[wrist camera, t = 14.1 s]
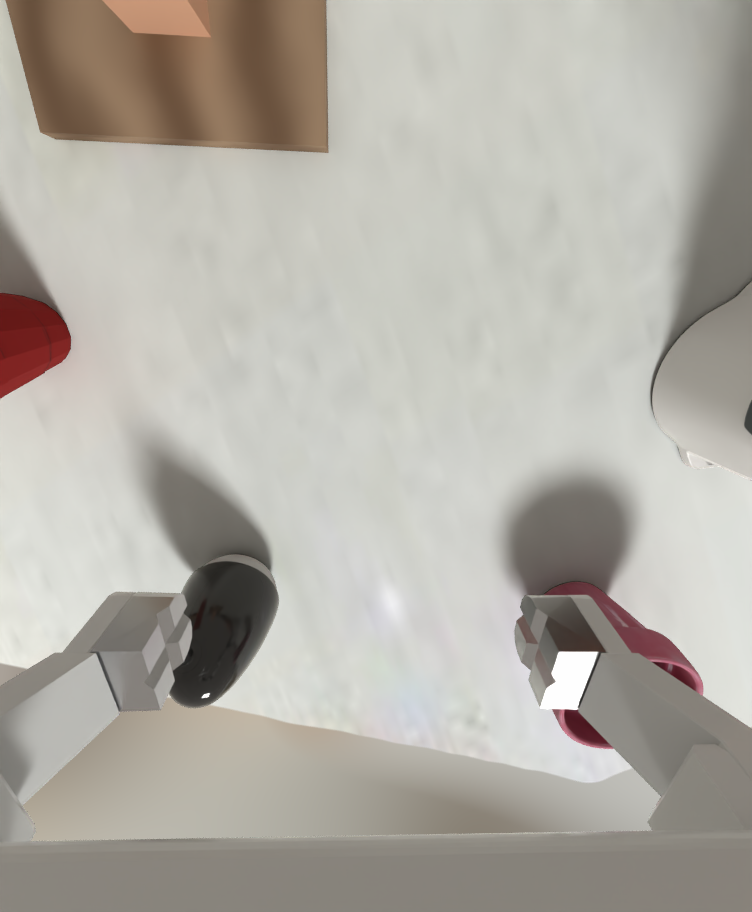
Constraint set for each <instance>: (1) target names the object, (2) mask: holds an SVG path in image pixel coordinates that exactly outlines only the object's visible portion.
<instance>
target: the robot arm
mask: <svg viewBox="0 0 752 912" xmlns="http://www.w3.org/2000/svg"><path fill="white" fill-rule="evenodd" d="M652 406H653V412H654V416H655V419H656V421H657V423H658V425H659V427H660V428H661V430H662V431H663V432H664V433H665V434H666V435H667V436H668V437H669V438H671V439H672V440H673V441H674V442H675V443H676V444H677V446H678V449H679V452H680V456H681V459H682V461H683V462H684V464H686V465H687V466H690V467H692V468H695V469H703V468H709V467H716V466H719V467H721V468H723V469H726V470H728V471H730V472H732V473H735V474H737V475H739V476H741V477H744V478H746V479H748V480H751V481H752V281H751V282H750V283H749V284H748V285H747V286H746V287H745V288H744V289H743V290H742V291H741V292H740V293H739V294H738V295H737V296H736V297H735V298H733V299H732V300H730V301H729V302H727V303H725V304H724V305H722V306H720V307H718V308H716V309H714V310H713V311H711V312H709V313H708V314H706V315H705V316H703V317H702V318H700V319H699V320H698V321H697V322H695V323H694V324H693V325H692V326H691V327H689V328H688V329H687V330H686V331H685V332H684V333H683V334H682V335H681V336H680V338H679V339H678V340H677V341H676V342H675V344H674V345H673V346H672V348H671V349H670V350H669V352H668V353H667V355H666V357H665V358H664V360H663V362H662V364H661V366H660V368H659V371H658V373H657V376H656V379H655V383H654V387H653V394H652ZM186 607H187V603H186V600H185V596H184V595H183V594H180V593H152V592H137V593H136V592H115V593H113V594H111V595H109V596H108V597H107V598H106V600H105V601H104V602H103V603H102V605H101V606H100V607H99V608H98V609H97V611H96V612H95V613H94V614H93V616H92V617H91V618H90V619H89V620H88V622H87V623H86V624H85V625H84V627H83V628H82V629H81V630H80V631H79V633H78V634H77V635H76V636H75V638H74V639H73V640H72V641H71V642H70V644H69V645H68V646H67V647H66V649H65V650H64V651H63V652H62V653H54V654H52V655H50V656H49V657H47V658H45V659H44V660H42V661H40V662H39V663H37V664H35V665H34V666H32V667H30V668H29V669H27V670H26V671H24V672H22V673H21V674H19V675H17V676H16V677H14V678H12V679H11V680H9V681H7V682H6V683H4V684H3V685H1V686H0V912H752V729H751V728H750V727H748V726H747V725H745V724H744V723H742V722H741V721H739V720H738V719H736V718H735V717H733V716H732V715H730V714H729V713H727V712H726V711H724V710H723V709H721V708H720V707H718V706H717V705H715V704H714V703H712V702H711V701H709V700H708V699H706V698H705V697H703V696H702V695H700V694H699V693H697V692H696V691H694V690H693V689H691V688H690V687H688V686H687V685H685V684H684V683H682V682H681V681H679V680H678V679H676V678H675V677H673V676H672V675H670V674H669V673H667V672H666V671H664V670H663V669H661V668H660V667H658V666H657V665H655V664H654V663H652V662H651V661H649V660H648V659H646V658H645V657H643V656H642V655H640V654H639V653H631V651H630V650H629V648H628V647H627V646H626V644H625V643H624V641H623V640H622V639H621V637H620V636H619V635H618V633H617V632H616V630H615V629H614V628H613V626H612V625H611V623H610V622H609V621H608V619H607V618H606V617H605V615H604V614H603V612H602V611H601V610H600V608H599V607H598V605H597V604H596V603H595V601H594V600H593V599H592V598H591V597H590V596H588V595H566V596H565V595H525V596H524V598H523V599H522V602H521V606H520V608H521V610H522V612H523V614H524V615H523V616H521V617H520V618H519V619H518V620H517V621H516V626H515V644H516V648H517V652H518V655H519V657H520V660H521V662H522V663H523V664H524V665H525V666H526V667H528V668H529V669H530V670H531V673H530V677H529V682H530V685H531V687H532V689H533V692H534V694H535V697H536V699H537V701H538V704H539V706H540V708H543V709H579V710H578V712H579V713H580V714H581V715H582V716H583V717H584V718H585V719H586V720H587V721H588V722H589V723H590V724H591V725H592V726H593V727H594V728H595V729H596V730H597V732H598V733H599V734H600V735H601V736H602V737H603V738H604V739H605V740H606V741H607V742H608V743H609V744H610V745H611V746H612V747H613V748H614V749H615V750H616V751H617V752H618V753H619V754H620V755H621V756H622V757H623V758H624V759H625V760H626V761H627V762H628V763H629V764H630V765H631V766H632V767H633V768H634V769H635V770H636V771H637V772H638V773H639V775H640V776H641V777H642V778H644V780H645V781H646V782H647V783H648V784H649V785H650V786H651V787H652V788H653V789H654V790H655V791H656V792H657V793H658V794H659V795H660V796H661V798H660V800H659V801H658V803H657V804H656V806H655V807H654V809H653V811H652V812H651V814H650V817H649V820H648V823H649V825H650V827H651V829H652V831H608V832H607V831H606V832H550V833H549V832H546V833H491V834H490V833H486V834H485V833H484V834H431V835H430V834H428V835H427V834H426V835H371V836H370V835H366V836H313V837H312V836H310V837H308V836H307V837H252V838H251V837H250V838H196V839H195V838H194V839H193V838H192V839H134V840H74V841H31V839H32V838H33V836H34V834H35V832H36V830H35V823H34V822H33V821H32V819H31V818H30V816H29V815H28V813H27V812H26V810H25V809H24V807H23V806H22V805H23V804H24V803H25V802H27V801H28V800H29V799H30V798H31V797H32V796H33V795H34V794H35V793H36V792H37V791H38V790H39V789H40V788H41V787H43V786H44V785H45V784H46V783H47V782H48V781H49V780H50V779H51V778H52V777H53V776H54V775H55V774H56V773H57V772H59V771H60V770H61V769H62V768H63V767H64V766H65V765H66V764H67V763H68V762H69V761H70V760H71V759H72V758H73V757H75V755H77V754H78V753H79V752H80V751H81V750H82V749H83V748H84V747H85V746H86V745H87V744H88V743H89V742H90V741H92V740H93V739H94V738H95V737H96V736H97V735H98V734H99V733H100V732H101V731H102V730H103V729H104V728H105V727H106V726H107V725H109V724H110V723H111V722H112V721H113V720H114V719H115V718H116V717H117V716H118V715H119V714H120V713H119V712H122V711H149V710H161V708H162V706H163V704H164V702H165V700H166V698H167V696H168V694H169V692H170V690H171V688H172V685H173V683H174V681H175V679H174V675H173V672H172V671H173V670H174V669H176V668H177V667H178V666H179V665H181V664H182V663H183V662H184V660H185V658H186V656H187V654H188V651H189V648H190V644H191V639H192V624H191V620H190V619H189V618H188V617H187V616H186V615H185V614H184V613H183V612H184V610H185V609H186Z"/></svg>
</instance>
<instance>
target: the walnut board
mask: <svg viewBox="0 0 752 912" xmlns="http://www.w3.org/2000/svg"><path fill="white" fill-rule="evenodd" d="M6 3H7V7H8V11H9V15H10V18H11V22H12V26H13V30H14V34H15V38H16V41H17V45H18V49H19V53H20V57H21V60H22V64H23V68H24V72H25V76H26V79H27V83H28V87H29V91H30V95H31V99H32V102H33V106H34V110H35V114H36V118H37V121H38V125H39V129H40V132H41V133H43V134H46V135H48V136H50V137H52V138H54V139H61V140H82V141H102V142H122V143H142V144H163V145H183V146H203V147H223V148H244V149H264V150H284V151H304V152H325V153H328V97H327V26H326V0H207V4H208V13H209V23H210V32H211V37H197V36H181V35H164V34H147V33H133V32H132V31H131V30H130V29H129V28H128V27H127V26H126V25H125V24H124V23H123V22H122V21H121V19H120V18H119V17H118V16H117V15H116V14H115V13H114V12H113V11H112V10H111V9H110V8H109V7H108V6H107V5H106V4H105V3H104V1H103V0H6Z"/></svg>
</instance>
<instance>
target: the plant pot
mask: <svg viewBox="0 0 752 912" xmlns="http://www.w3.org/2000/svg"><path fill="white" fill-rule="evenodd" d="M544 595H565V596H566V595H588V596H590V597H591V598H592V599H593V600H594V601H595V603H596V604H597V605H598V607H599V608H600V610H601V611H602V612H603V614H604V615H605V617H606V618H607V619H608V621H609V622H610V623H611V625H612V626H613V628H614V629H615V630H616V632H617V633H618V635H619V636H620V637H621V639H622V640H623V641H624V643H625V644H626V646H627V647H628V648H629V650H630V651H631V653H639V654H640V655H642V656H643V657H645V658H646V659H648V660H649V661H651V662H652V663H654V664H655V665H657V666H658V667H660V668H661V669H663V670H664V671H666V672H667V673H669V674H670V675H672V676H673V677H675V678H676V679H678V680H679V681H681V682H682V683H684V684H685V685H687V686H688V687H690V688H691V689H693V690H694V691H696V692H697V693H699V694H700V695H702V696H703V683H702V680H701V678H700V676H699V674H698V673H697V671H696V670H695V669H694V667H693V666H692V665H691V663H690V662H689V661H688V660H687V659H686V658H685V656H684V655H683V654H682V653H681V652H680V650H679V649H678V648H677V647H676V646H675V645H674V644H673V643H672V642H671V641H670V640H669V639H668V638H666V637H665V636H664V635H662V634H660V633H658V632H656V631H653V630H649V629H646V628H645V627H644V626H643V625H642V624H641V623H639V622H638V621H637V620H636V619H635V618H634V617H632V616H631V615H630V614H629V613H628V612H627V611H625V610H624V609H623V608H622V607H621V606H619V605H618V604H617V603H616V602H614V601H613V600H612V599H611V598H610V597H608V596H607V595H606V594H605V593H603V592H602V591H601V590H600V589H599V588H597V587H596V586H594V585H592V584H589V583H585V582H569V583H565V584H562V585H559V586H556V587H554V588H553V589H551V590H549V591H548V592H546V593H545V594H544ZM552 710H553V712H554V714H555V716H556V718H557V720H558V722H559V724H560V726H561V728H562V730H563V731H564V732H565V733H566V734H567V735H568V736H569V737H570V738H571V739H573V740H575V741H576V742H578V743H581V744H583V745H586V746H590V747H595V748H604V749H614V748H613V747H612V746H611V745H610V744H609V743H608V742H607V741H606V740H605V739H604V738H603V737H602V736H601V735H600V734H599V733H598V732H597V730H596V729H595V728H594V727H593V726H592V725H591V724H590V723H589V722H588V721H587V720H586V719H585V718H584V717H583V716H582V715H581V714H580V713H579V712H578V710H579V709H552Z"/></svg>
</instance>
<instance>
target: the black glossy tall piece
mask: <svg viewBox="0 0 752 912" xmlns="http://www.w3.org/2000/svg"><path fill="white" fill-rule="evenodd" d="M181 594H183V595H184V596H185V600H186V603H187V607H186V609H185V610H184V612H183V613H184V614H185V615H186V616H187V617H188V618H189V619H190V620H191V624H192V639H191V644H190V648H189V651H188V654H187V656H186V658H185V660H184V662H183V663H182V664H181V665H179V666H178V667H177V668H176V669H174V670H173V671H172V672H173V675H174V679H175V681H174V683H173V685H172V688H171V690H170V692H169V695H170V696H171V698H172V699H173V700H174V701H175V702H176V703H178V704H180V705H181V706H184V707H188V708H201V707H204V706H207V705H210V704H212V703H213V702H215V701H216V700H218V699H219V698H220V697H222V696H223V695H224V694H225V693H226V692H227V691H228V690H229V689H230V688H231V687H232V686H233V685H234V684H235V683H236V682H237V681H238V679H239V678H240V677H241V676H242V674H243V673H244V672H245V670H246V669H247V668H248V666H249V665H250V663H251V662H252V660H253V659H254V657H255V656H256V654H257V652H258V651H259V649H260V647H261V646H262V644H263V642H264V640H265V638H266V636H267V634H268V632H269V630H270V628H271V626H272V623H273V621H274V619H275V616H276V613H277V609H278V605H279V596H278V592H277V589H276V584H275V581H274V578H273V576H272V574H271V572H270V571H269V570H268V568H267V567H266V566H265V565H264V564H262V563H261V562H260V561H258V560H256V559H254V558H252V557H249V556H245V555H238V554H232V555H225V556H221V557H218V558H216V559H214V560H212V561H210V562H208V563H207V564H205V565H204V566H202V567H201V568H199V569H197V570H196V571H195V572H194V573H193V574H192V575H191V576H190V577H189V579H188V580H187V582H186V584H185V586H184V588H183V590H182V592H181Z"/></svg>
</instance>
